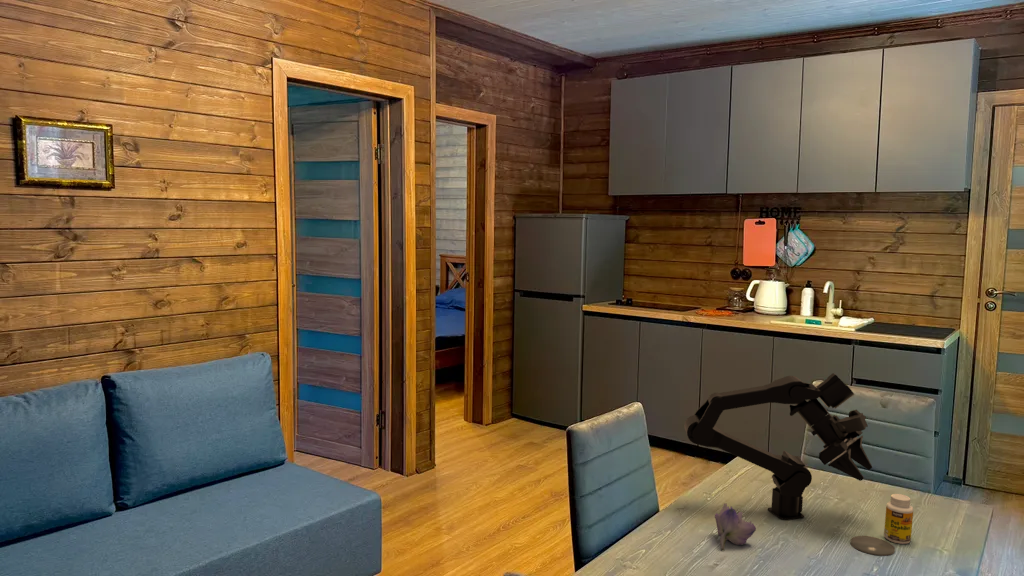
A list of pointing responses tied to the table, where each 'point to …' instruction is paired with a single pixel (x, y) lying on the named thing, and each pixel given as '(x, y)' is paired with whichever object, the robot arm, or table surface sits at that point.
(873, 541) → the slate coaster
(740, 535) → the flower
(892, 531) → the supplement bottle
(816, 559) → the table surface
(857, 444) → the robot arm
